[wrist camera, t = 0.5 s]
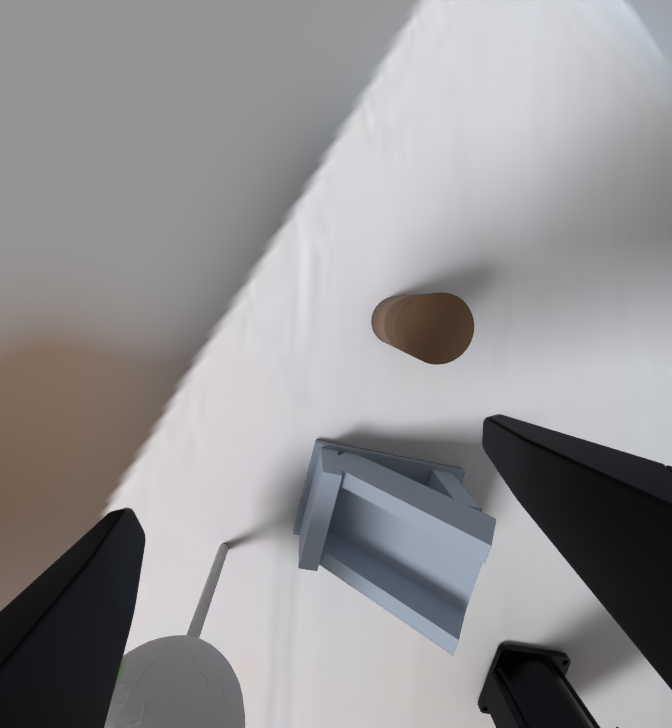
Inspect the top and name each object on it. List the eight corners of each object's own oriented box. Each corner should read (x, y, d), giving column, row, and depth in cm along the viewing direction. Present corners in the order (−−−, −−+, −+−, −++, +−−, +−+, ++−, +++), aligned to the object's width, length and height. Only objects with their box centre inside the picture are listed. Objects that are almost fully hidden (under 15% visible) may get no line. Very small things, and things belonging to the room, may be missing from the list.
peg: (423, 303, 23) (482, 302, 15) (410, 348, 23) (462, 371, 15) (378, 291, 22) (415, 284, 15) (366, 338, 23) (396, 355, 15)
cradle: (461, 468, 25) (535, 548, 17) (434, 552, 26) (492, 665, 18) (316, 439, 24) (319, 510, 16) (293, 529, 25) (286, 639, 17)
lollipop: (219, 484, 24) (76, 773, 9) (292, 543, 25) (270, 880, 10) (153, 552, 24) (-85, 929, 10) (228, 606, 26) (119, 1013, 11)
